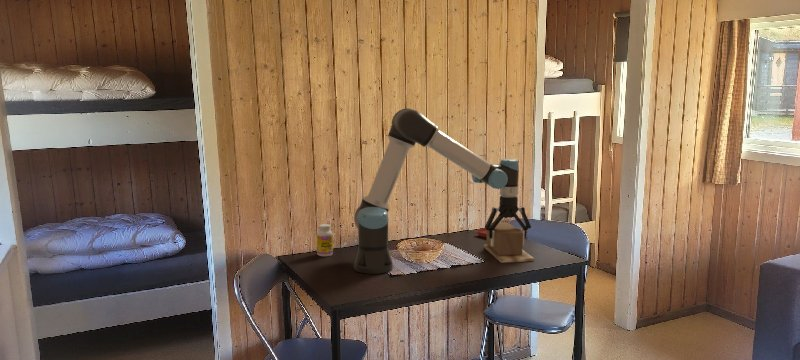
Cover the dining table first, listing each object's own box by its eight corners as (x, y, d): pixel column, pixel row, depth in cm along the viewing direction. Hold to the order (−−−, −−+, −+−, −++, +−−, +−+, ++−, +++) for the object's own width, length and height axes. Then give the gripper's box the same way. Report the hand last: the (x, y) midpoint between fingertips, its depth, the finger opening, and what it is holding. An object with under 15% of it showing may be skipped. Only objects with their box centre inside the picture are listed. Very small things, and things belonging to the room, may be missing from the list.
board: (500, 262, 253) (501, 259, 253) (483, 247, 276) (483, 244, 276) (533, 261, 255) (533, 258, 255) (514, 246, 278) (514, 243, 278)
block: (508, 221, 276) (524, 232, 257) (507, 243, 278) (522, 255, 258) (486, 222, 275) (500, 232, 255) (485, 244, 276) (499, 256, 257)
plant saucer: (504, 244, 284) (504, 237, 283) (474, 236, 297) (474, 230, 296) (528, 237, 295) (528, 230, 295) (498, 231, 309) (499, 224, 308)
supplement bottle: (319, 257, 260) (319, 227, 258) (315, 253, 266) (314, 224, 264) (335, 255, 263) (334, 226, 261) (330, 252, 269) (329, 222, 267)
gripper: (482, 198, 257) (481, 248, 261) (539, 196, 261) (538, 246, 264) (477, 195, 265) (476, 244, 268) (533, 193, 268) (531, 241, 272)
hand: (507, 245), depth 266 cm, fingers open, 12 cm apart
